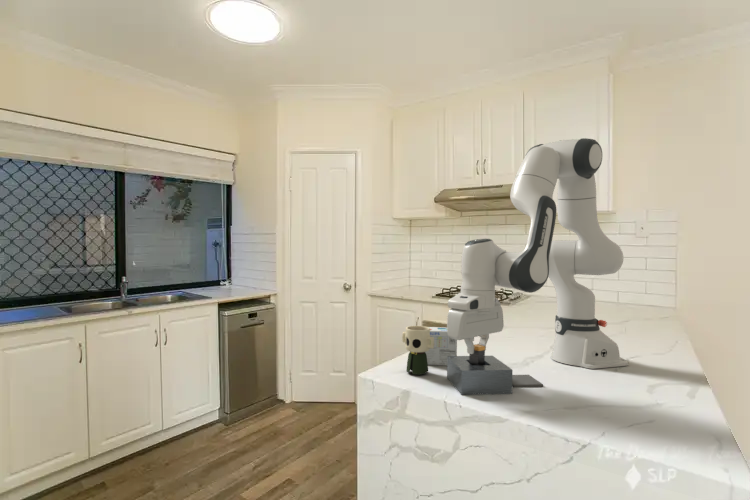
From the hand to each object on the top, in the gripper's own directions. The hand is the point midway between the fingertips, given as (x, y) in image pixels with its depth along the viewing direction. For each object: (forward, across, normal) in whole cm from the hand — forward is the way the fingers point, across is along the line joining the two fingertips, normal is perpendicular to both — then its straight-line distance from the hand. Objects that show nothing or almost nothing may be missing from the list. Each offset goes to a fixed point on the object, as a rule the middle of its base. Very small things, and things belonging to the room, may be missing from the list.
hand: (476, 352), depth 109 cm
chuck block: (+9, -2, -2) cm, 9 cm away
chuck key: (+6, 0, 0) cm, 6 cm away
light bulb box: (+9, -8, -20) cm, 23 cm away
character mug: (+9, +5, -16) cm, 19 cm away
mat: (+9, -12, +6) cm, 16 cm away
